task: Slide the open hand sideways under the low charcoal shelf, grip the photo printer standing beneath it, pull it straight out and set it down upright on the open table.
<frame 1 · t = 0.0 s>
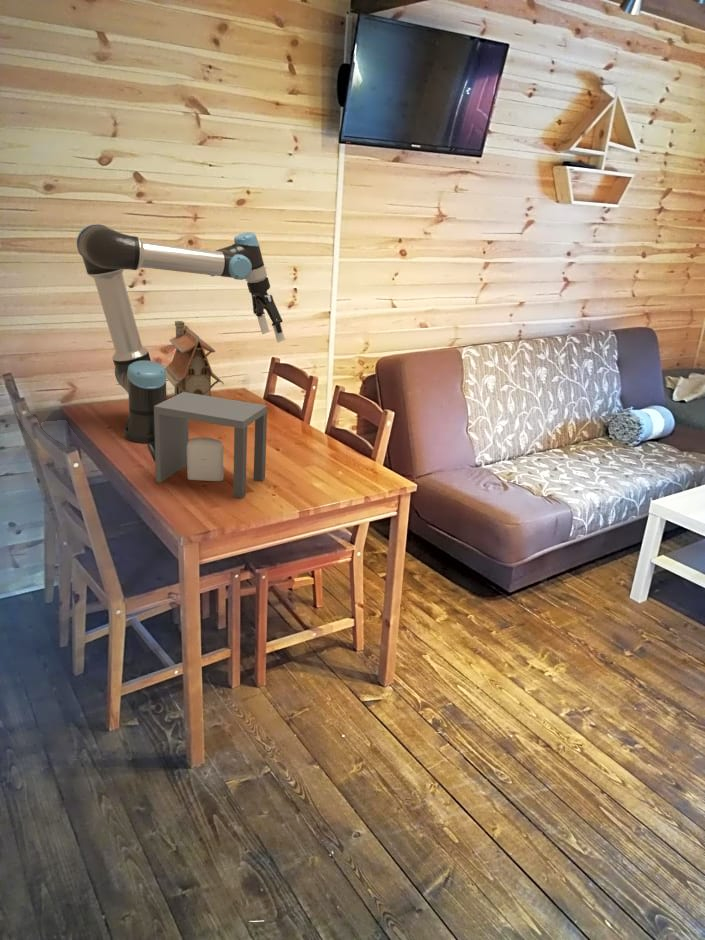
hand: (273, 336, 258), 28 cm above the table, tool tilted 20°, fingers open, 13 cm apart
low shelf: (211, 480, 205), on the table
photo printer: (205, 479, 205), on the table
phone: (164, 454, 222), on the table
miniature house: (193, 409, 265), on the table
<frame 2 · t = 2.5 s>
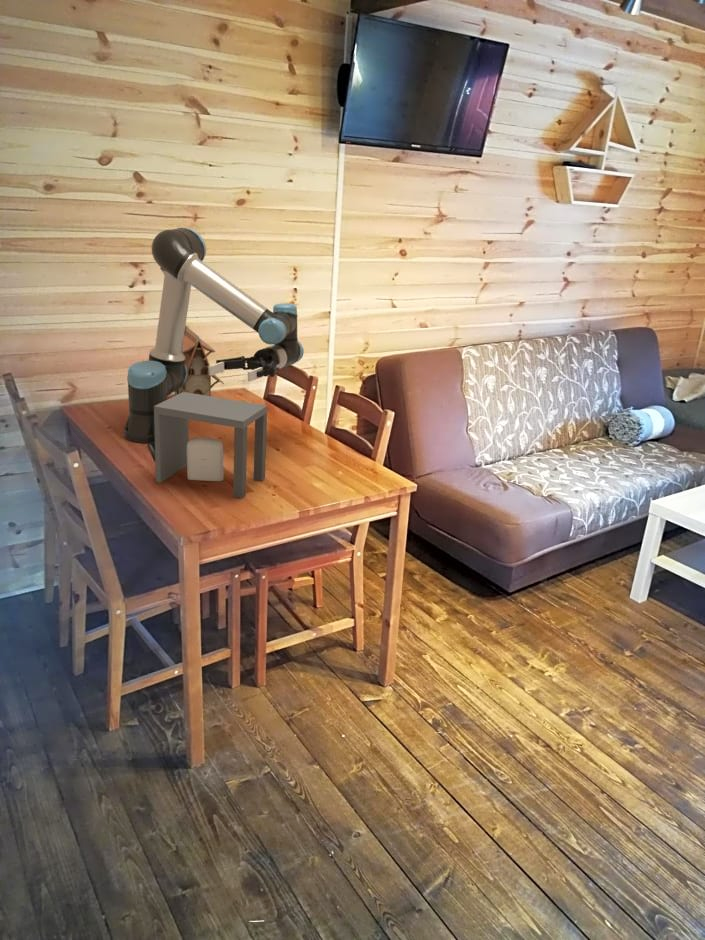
hand: (228, 373, 205), 28 cm above the table, tool horizontal, fingers open, 13 cm apart
nothing on the table moved.
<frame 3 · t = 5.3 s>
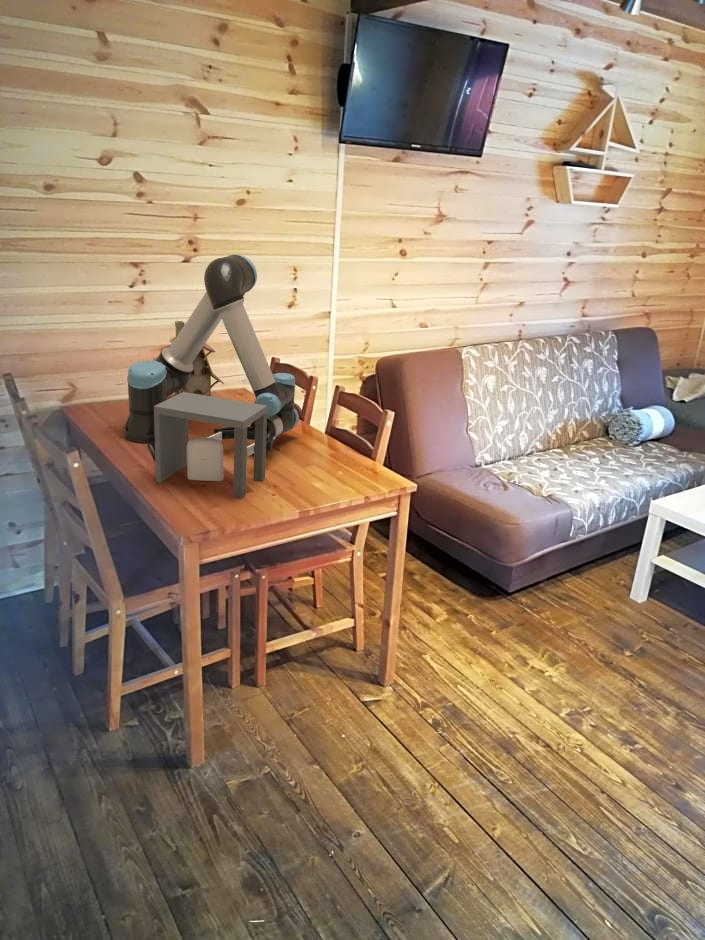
hand: (226, 446, 211), 7 cm above the table, tool horizontal, fingers open, 13 cm apart
nothing on the table moved.
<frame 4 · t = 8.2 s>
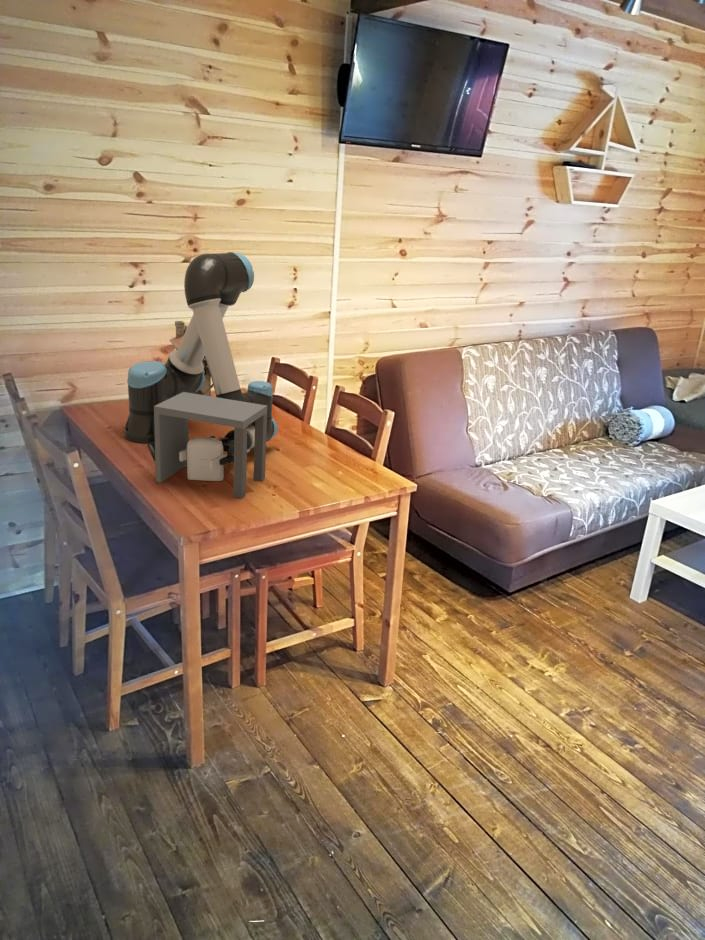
hand: (195, 461, 199), 7 cm above the table, tool horizontal, fingers closed on photo printer, 10 cm apart
photo printer: (205, 479, 205), on the table, touching gripper
everything else where it was.
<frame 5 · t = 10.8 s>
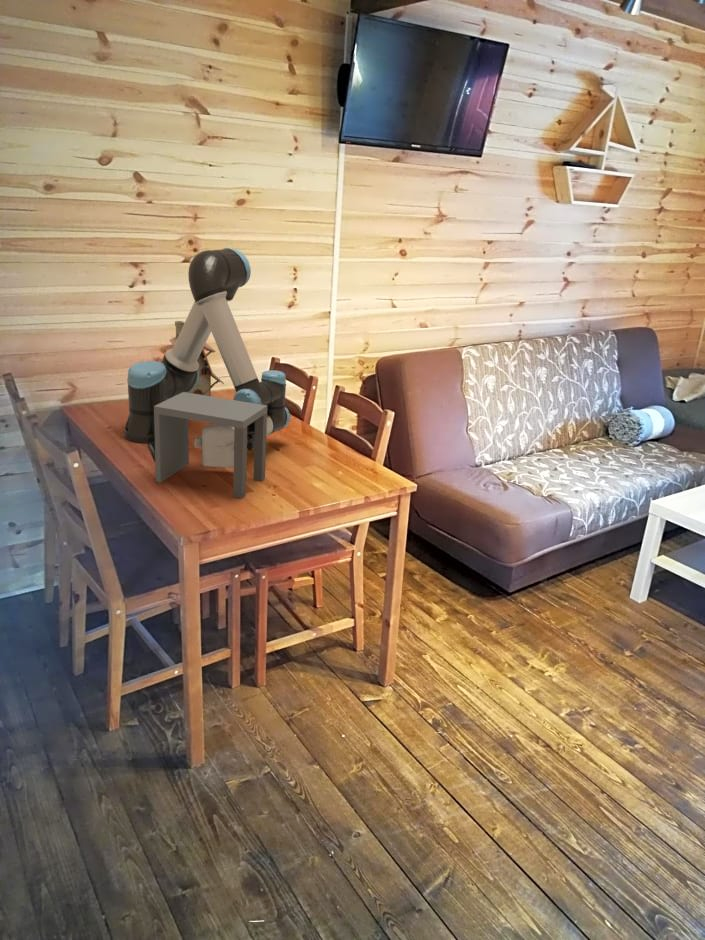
hand: (210, 447, 203), 9 cm above the table, tool horizontal, fingers closed on photo printer, 10 cm apart
photo printer: (219, 466, 209), point 2 cm above the table, touching gripper
everything else where it was.
when the fingers open (8 cm above the table, at t = 13.7 s): photo printer stays where it is, on the table.
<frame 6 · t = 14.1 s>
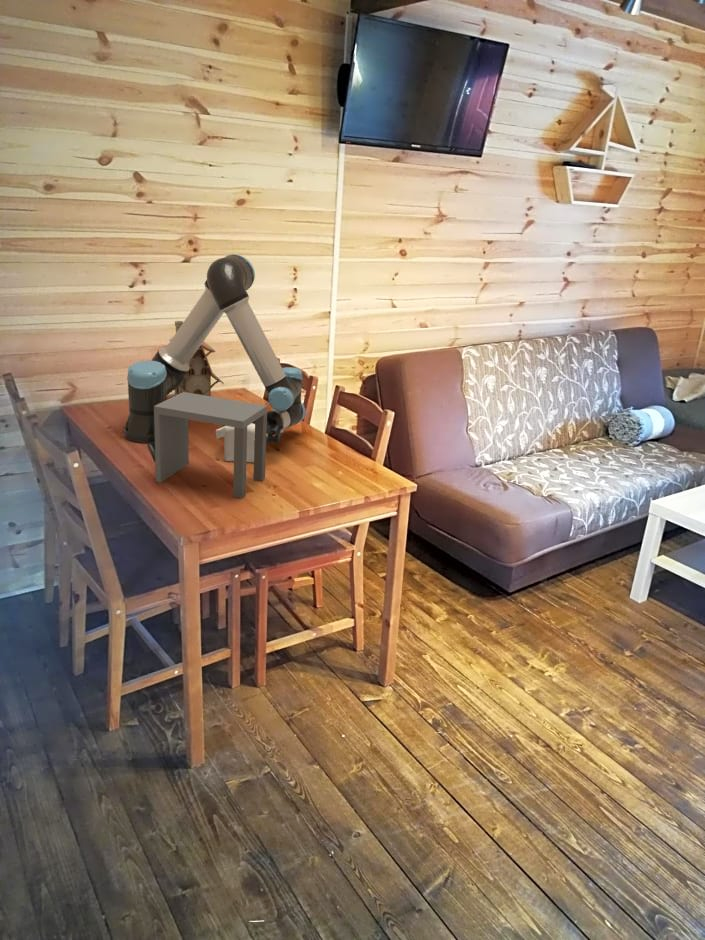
hand: (235, 439, 215), 8 cm above the table, tool horizontal, fingers open, 13 cm apart
photo printer: (241, 461, 221), on the table
everything else where it was.
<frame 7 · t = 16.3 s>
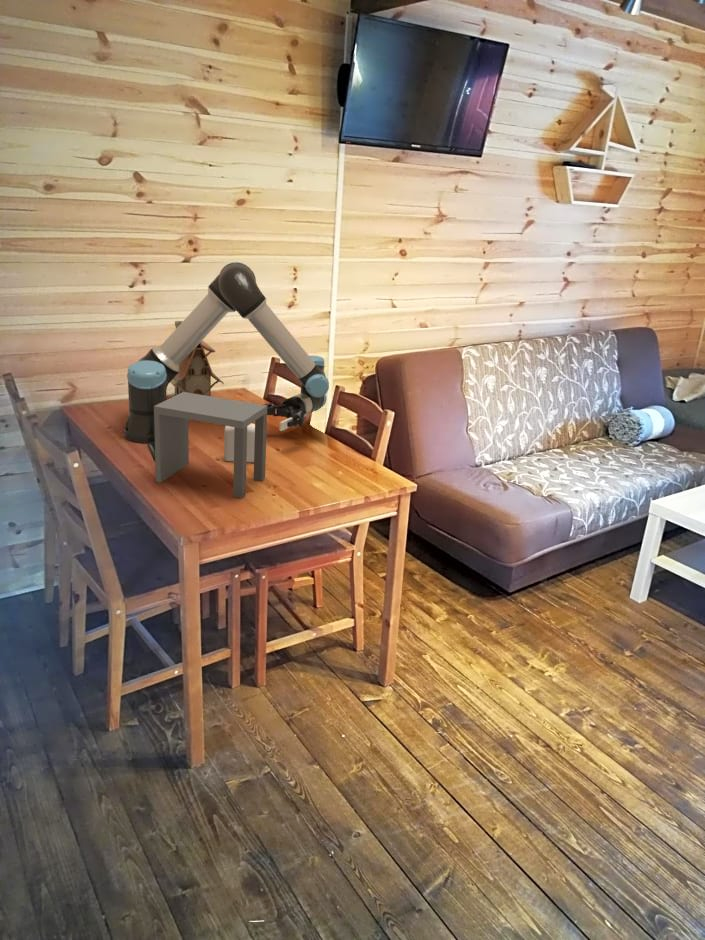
hand: (262, 422, 226), 10 cm above the table, tool horizontal, fingers open, 13 cm apart
nothing on the table moved.
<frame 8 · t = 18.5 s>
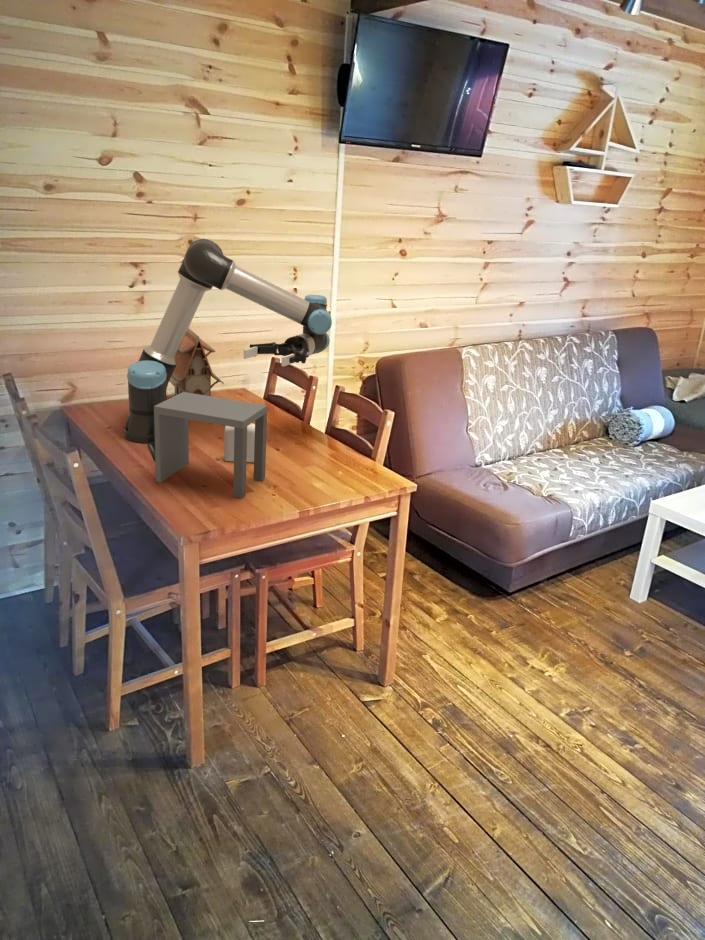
hand: (263, 358, 218), 30 cm above the table, tool horizontal, fingers open, 13 cm apart
nothing on the table moved.
at the end: photo printer inside the target area (1.3 cm from its centre), on the table; photo printer tilted 0°; the gripper is holding nothing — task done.
